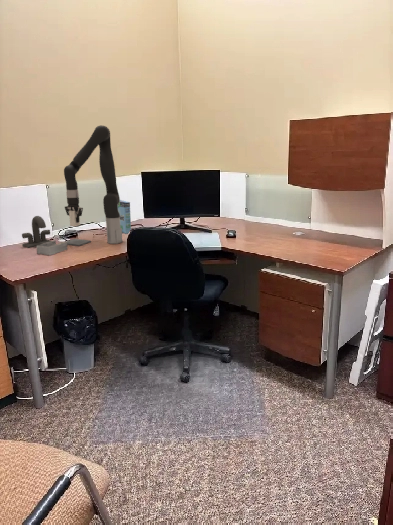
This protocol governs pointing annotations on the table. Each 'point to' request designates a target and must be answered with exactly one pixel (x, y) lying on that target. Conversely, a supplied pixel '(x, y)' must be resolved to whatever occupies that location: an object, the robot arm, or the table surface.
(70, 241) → the mat
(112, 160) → the robot arm
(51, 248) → the grey box
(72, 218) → the block
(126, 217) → the gum box
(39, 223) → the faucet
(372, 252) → the table surface
